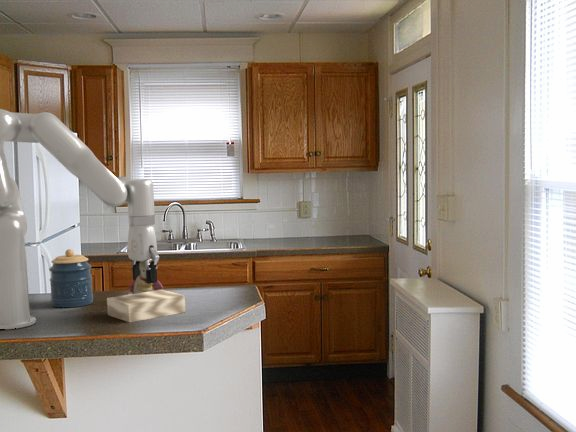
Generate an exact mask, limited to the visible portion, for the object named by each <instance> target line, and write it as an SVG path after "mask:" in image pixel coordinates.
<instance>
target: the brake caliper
mask: <svg viewBox="0 0 576 432" xmlns="http://www.w3.org/2000/svg"><path fill="white" fill-rule="evenodd" d="M135 281H136V280H133V279H132V282H130V284H129V291H130V292H129V293H128V294H127V295H130V294H136V293H142V292H141V291H136V290H135V289H134V284H135ZM152 285H154V287H153V286H152V291H155V290H164V286H163V285H162V283H161V281H159V280H158V279H157V282H156V283H153V284H152ZM148 292H149V291H148Z"/></svg>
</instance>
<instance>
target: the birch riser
mask: <svg viewBox="0 0 576 432" xmlns="http://www.w3.org/2000/svg"><path fill="white" fill-rule="evenodd" d="M106 304H107V315H108V316H110V317H112V318H115V319H118V320H121V321H124V322H126V323H134V322H135V323H136V322H139V321H144V320H145V321H146V320H150V319H151V320H152V319H156V318H162V317H167V316H172V315H177V314H182V313H186V296H185V294H182V293H181V294H180V293H177V292H172V291H168V290H165V289H163V290H155V291H154V290H153V291H149V292H142V293H136V294H130V295H128V294H124V295H118V296H112V297H111V296H110V297H107V298H106Z"/></svg>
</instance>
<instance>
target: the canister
mask: <svg viewBox="0 0 576 432" xmlns="http://www.w3.org/2000/svg"><path fill="white" fill-rule="evenodd" d="M88 261H89V258H88V257H86V256H85V255H84V254H75V253H74V250H73V249H70V248H69V249H66V250H65V254H64V255H58V256H55V258H54V259H52V260H51V264H52V266H50V267H49V268H48V270H49V271H50V278H49V281H50V302H51V303H50V304H51V306H52V307H55V308H60V307H62V309H63V308H64V307H69V308H79V307H84V306H87V305H91V304H92V303H93V302H94V301H93V300H94V293H93V280H92V279H93V276H92V274H91V268H92V265H91V264H89V263H88ZM64 309H65V308H64Z"/></svg>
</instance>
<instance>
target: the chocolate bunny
mask: <svg viewBox="0 0 576 432" xmlns="http://www.w3.org/2000/svg"><path fill="white" fill-rule="evenodd" d="M139 269H140V271H141V273H140V276H138V277H137V278H136V281H135V284H134V287H133V288H134V289H135V290H136V291H141V292H148V291H152V287H153V285H154V284H153V283H150V284H147V282H146V270H147V267H146V264H145V261H144V262H140V264H139Z"/></svg>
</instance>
